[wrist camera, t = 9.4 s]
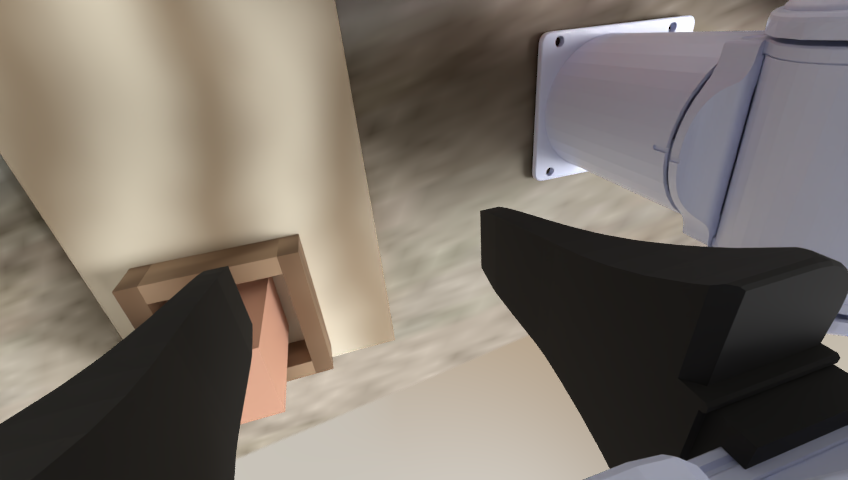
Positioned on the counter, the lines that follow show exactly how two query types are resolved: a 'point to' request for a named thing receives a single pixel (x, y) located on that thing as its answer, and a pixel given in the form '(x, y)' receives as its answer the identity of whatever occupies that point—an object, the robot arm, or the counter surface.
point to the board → (198, 157)
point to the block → (265, 350)
